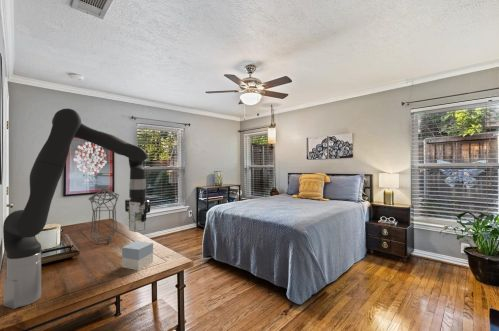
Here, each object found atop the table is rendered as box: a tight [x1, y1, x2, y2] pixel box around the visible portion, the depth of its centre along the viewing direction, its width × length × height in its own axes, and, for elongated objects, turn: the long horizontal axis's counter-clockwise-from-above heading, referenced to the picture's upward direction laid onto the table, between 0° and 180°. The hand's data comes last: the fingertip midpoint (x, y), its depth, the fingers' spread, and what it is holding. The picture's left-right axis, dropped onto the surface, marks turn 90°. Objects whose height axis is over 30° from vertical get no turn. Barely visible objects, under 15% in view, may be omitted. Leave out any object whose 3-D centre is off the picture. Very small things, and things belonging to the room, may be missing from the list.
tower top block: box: [121, 240, 154, 260], centre depth 121 cm, size 10×10×5 cm
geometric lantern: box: [88, 187, 120, 245], centre depth 154 cm, size 16×16×35 cm
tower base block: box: [121, 252, 154, 271], centre depth 120 cm, size 10×10×5 cm
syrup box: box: [128, 202, 146, 233], centre depth 120 cm, size 6×6×14 cm
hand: (137, 220), depth 120 cm, fingers closed on syrup box, 7 cm apart
